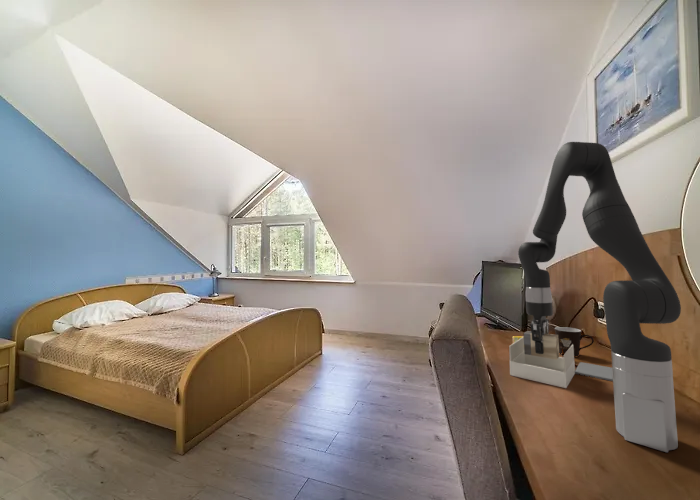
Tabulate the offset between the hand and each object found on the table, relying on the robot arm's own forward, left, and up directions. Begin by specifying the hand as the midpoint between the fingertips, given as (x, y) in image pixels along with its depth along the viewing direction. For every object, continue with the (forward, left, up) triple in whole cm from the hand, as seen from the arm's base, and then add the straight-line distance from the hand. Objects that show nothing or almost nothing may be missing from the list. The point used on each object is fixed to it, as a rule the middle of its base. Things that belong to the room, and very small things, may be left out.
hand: (541, 351), depth 97 cm
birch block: (0, 0, -1) cm, 1 cm away
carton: (0, 0, -8) cm, 8 cm away
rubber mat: (+14, -14, -8) cm, 21 cm away
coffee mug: (+30, -4, -8) cm, 31 cm away
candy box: (+18, +6, -8) cm, 21 cm away
